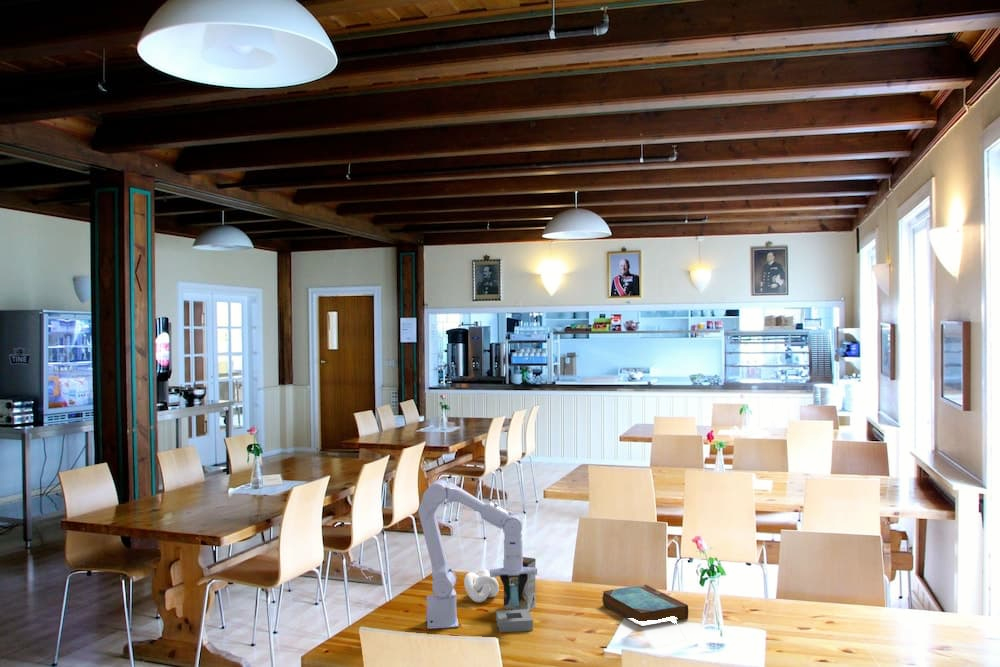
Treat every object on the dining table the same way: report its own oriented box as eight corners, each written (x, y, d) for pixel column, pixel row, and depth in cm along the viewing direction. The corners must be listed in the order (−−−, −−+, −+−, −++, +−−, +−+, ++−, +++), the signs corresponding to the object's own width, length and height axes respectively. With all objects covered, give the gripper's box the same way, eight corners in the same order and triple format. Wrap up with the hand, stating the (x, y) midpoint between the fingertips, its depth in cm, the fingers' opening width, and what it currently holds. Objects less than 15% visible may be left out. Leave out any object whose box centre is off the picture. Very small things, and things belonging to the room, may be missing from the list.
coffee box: (502, 608, 255) (502, 559, 255) (511, 602, 261) (511, 554, 261) (528, 613, 251) (527, 562, 251) (536, 606, 256) (535, 557, 257)
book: (688, 620, 243) (688, 604, 244) (640, 629, 236) (640, 612, 236) (646, 599, 264) (646, 584, 264) (601, 606, 257) (601, 591, 257)
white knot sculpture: (458, 595, 270) (458, 568, 270) (492, 591, 273) (491, 565, 274) (467, 605, 259) (466, 578, 259) (501, 601, 263) (501, 574, 263)
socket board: (499, 632, 234) (499, 622, 234) (496, 620, 244) (496, 610, 244) (532, 630, 236) (532, 620, 236) (527, 618, 245) (527, 609, 245)
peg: (509, 606, 238) (509, 586, 238) (508, 603, 241) (508, 583, 241) (519, 606, 238) (519, 586, 238) (518, 603, 241) (518, 583, 241)
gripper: (491, 559, 235) (491, 604, 235) (538, 557, 237) (539, 602, 237) (488, 553, 242) (489, 597, 242) (534, 551, 244) (535, 594, 244)
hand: (513, 599), depth 240 cm, fingers closed on peg, 3 cm apart
